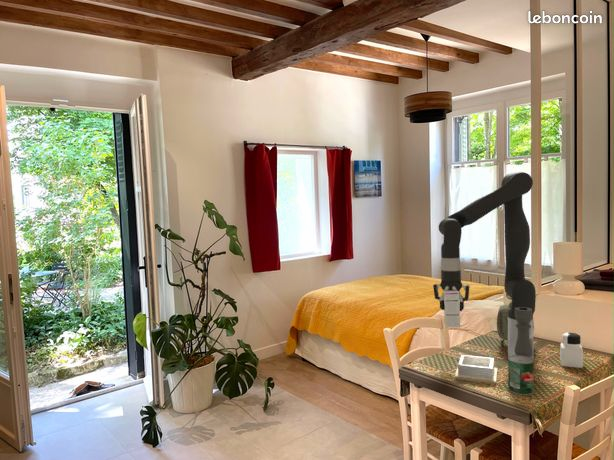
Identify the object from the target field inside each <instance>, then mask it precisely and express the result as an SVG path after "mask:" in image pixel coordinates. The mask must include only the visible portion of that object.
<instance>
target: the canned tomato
mask: <svg viewBox="0 0 614 460" xmlns="http://www.w3.org/2000/svg"><path fill="white" fill-rule="evenodd" d="M507 363H508V365H507V366H508V367H507V371H508V372H507V375H508V376H507V377H508V378H507V379H508V382H507V383H508V384H507V385H508V388H507V390H508V391H509V392H510V393H513V394H514V395H515V394H516V395H520V396H530V395H533V394H534V393H535V390H534V363H535V362H534V358H533V359H532V358H530V357H527V356H521V355H512V356H509V357H508V356H507Z"/></svg>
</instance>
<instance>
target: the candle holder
mask: <svg viewBox="0 0 614 460" xmlns="http://www.w3.org/2000/svg"><path fill="white" fill-rule="evenodd" d="M515 318H516V320H517V322H518V323H517V324H516V327H517V329H518V337H517V341H516V345H515V349H514V351H515V354H516V355H521V356H527V357H531V356H532V354H533V355H534V349H533V350H532V346H531V342H530V338H529V329H530V328H531V325H530V324H529V323H530V321H531V319H532V309H531V308H526V307H517V308H515Z"/></svg>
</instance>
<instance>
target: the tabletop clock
mask: <svg viewBox="0 0 614 460" xmlns="http://www.w3.org/2000/svg"><path fill="white" fill-rule="evenodd" d="M505 295H506V296H505V297H506V298H507V299H508V300H511V301H510V302H509V303H508V304H504V305H500V306H499V308H498V312H497V315H496V316H497V318H496V330H497V334H498V337H499V338H500V339H502V340H500V345H504V344H505V341H508V310H509V309H511V307H512V298H510V297H509V296H508V295H507V294H505ZM534 327H535V325H534V321H533V331H534V329H535V328H534Z"/></svg>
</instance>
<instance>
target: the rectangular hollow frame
mask: <svg viewBox="0 0 614 460" xmlns="http://www.w3.org/2000/svg"><path fill="white" fill-rule="evenodd" d="M498 368H499V367H496V366H495V358H494V357H489V356H488V357H487V356H480V355H477V356H476V355H466V354H461V355H460V358H459V361H458V363H457V368H456V370H455V374H454V380H460V381H461V380H462V381H467V382H468V381H469V382H478V383H485V384H492V385H497V378H498Z"/></svg>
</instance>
